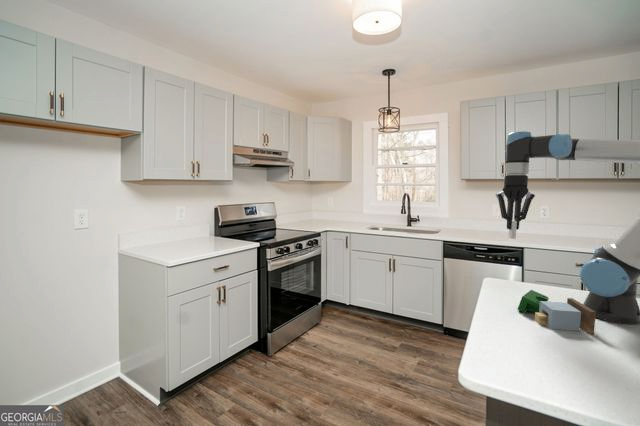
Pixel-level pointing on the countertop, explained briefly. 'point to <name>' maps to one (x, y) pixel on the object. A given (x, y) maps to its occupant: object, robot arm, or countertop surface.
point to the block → (561, 315)
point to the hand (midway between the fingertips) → (512, 238)
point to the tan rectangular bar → (541, 318)
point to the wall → (584, 316)
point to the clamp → (531, 301)
